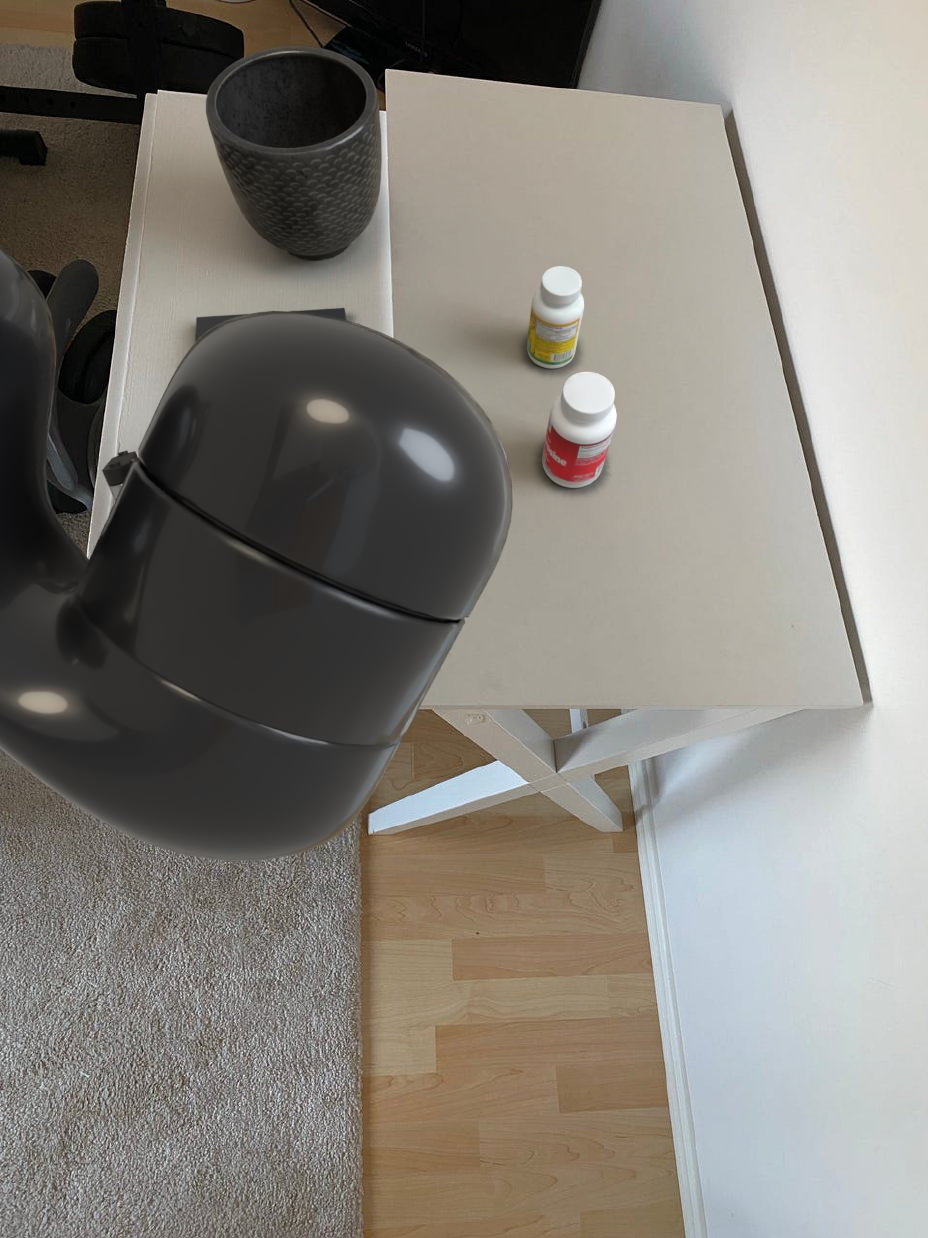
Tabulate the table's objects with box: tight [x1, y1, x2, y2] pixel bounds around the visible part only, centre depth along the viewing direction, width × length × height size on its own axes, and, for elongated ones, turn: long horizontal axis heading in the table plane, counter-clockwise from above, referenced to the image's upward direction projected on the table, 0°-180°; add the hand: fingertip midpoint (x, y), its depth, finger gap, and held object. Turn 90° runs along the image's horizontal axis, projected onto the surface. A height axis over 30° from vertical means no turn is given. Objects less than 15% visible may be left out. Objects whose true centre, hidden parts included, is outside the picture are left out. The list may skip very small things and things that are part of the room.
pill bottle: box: [541, 371, 618, 489], centre depth 75 cm, size 6×6×11 cm
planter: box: [205, 45, 383, 262], centre depth 85 cm, size 17×17×16 cm
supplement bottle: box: [526, 265, 585, 369], centre depth 82 cm, size 5×5×10 cm
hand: (256, 432), depth 46 cm, fingers open, 8 cm apart
